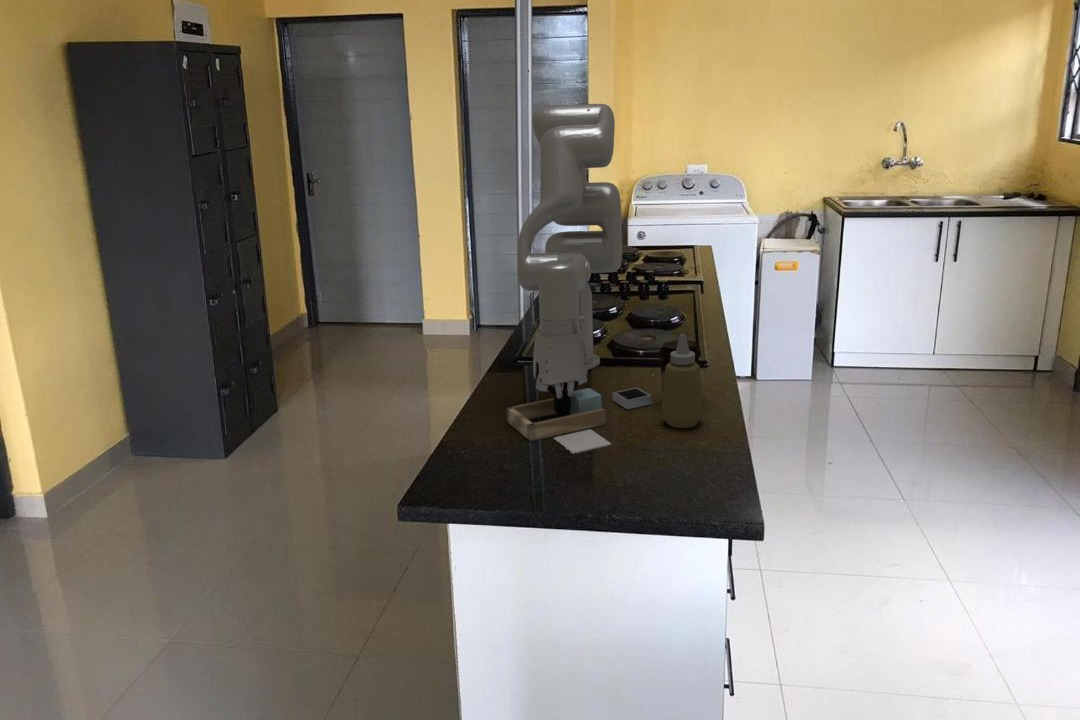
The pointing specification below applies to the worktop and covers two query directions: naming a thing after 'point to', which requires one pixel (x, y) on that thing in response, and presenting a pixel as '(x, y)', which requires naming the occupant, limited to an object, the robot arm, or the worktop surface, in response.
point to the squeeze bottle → (682, 388)
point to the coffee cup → (672, 346)
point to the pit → (632, 398)
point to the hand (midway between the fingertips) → (562, 414)
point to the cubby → (552, 427)
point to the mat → (582, 441)
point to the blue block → (585, 401)
